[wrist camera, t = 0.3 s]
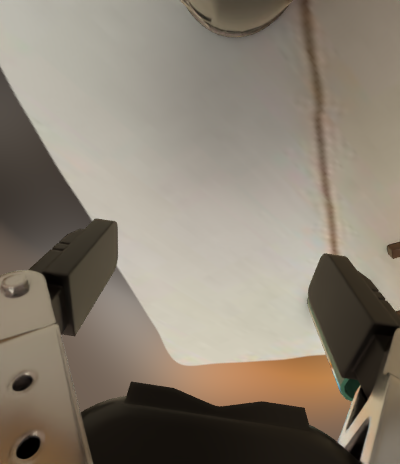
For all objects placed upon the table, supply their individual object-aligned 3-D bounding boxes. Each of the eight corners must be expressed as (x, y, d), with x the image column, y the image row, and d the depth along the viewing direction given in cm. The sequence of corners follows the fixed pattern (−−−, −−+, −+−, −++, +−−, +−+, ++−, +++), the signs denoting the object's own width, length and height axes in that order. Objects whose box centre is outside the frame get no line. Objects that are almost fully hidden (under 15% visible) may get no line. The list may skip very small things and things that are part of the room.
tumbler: (315, 278, 33) (354, 362, 23) (363, 285, 33) (422, 371, 23) (301, 313, 35) (331, 400, 26) (345, 318, 35) (391, 407, 26)
